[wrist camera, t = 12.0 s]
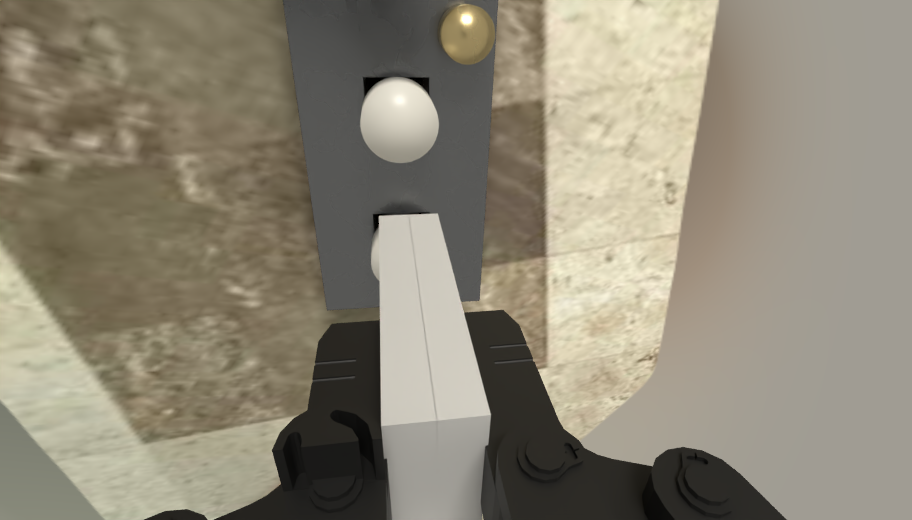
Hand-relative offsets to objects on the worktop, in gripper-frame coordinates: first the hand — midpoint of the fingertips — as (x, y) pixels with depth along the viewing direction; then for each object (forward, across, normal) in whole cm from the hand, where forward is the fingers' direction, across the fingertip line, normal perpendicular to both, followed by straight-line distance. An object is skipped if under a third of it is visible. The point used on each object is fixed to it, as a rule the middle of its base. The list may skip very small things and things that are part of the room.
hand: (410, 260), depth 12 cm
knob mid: (+24, 0, -1) cm, 24 cm away
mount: (+24, 0, -1) cm, 24 cm away
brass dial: (+19, +4, +4) cm, 20 cm away
